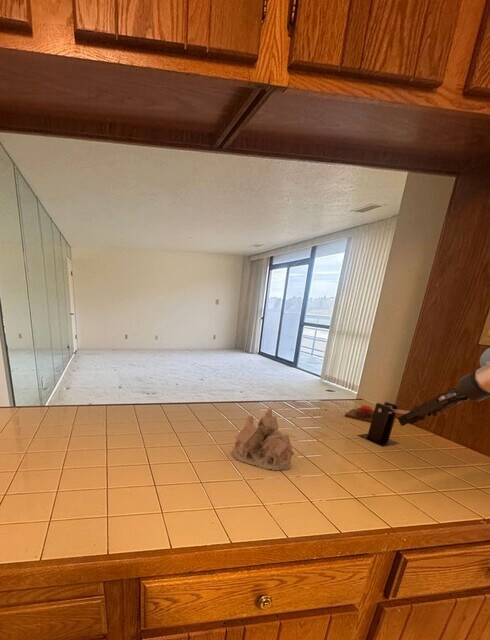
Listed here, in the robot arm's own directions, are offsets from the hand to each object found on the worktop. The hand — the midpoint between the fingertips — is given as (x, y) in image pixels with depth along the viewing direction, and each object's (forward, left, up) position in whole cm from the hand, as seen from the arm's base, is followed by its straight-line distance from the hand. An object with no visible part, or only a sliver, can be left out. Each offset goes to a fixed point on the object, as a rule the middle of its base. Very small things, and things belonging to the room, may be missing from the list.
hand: (405, 421), depth 110 cm
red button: (+7, -29, -7) cm, 31 cm away
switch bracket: (+5, -5, -10) cm, 13 cm away
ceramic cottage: (+40, +26, -11) cm, 49 cm away
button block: (+7, -29, -10) cm, 32 cm away
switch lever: (+1, -1, +1) cm, 1 cm away
